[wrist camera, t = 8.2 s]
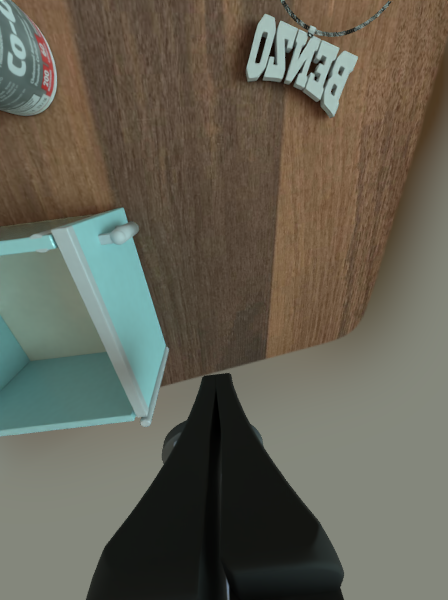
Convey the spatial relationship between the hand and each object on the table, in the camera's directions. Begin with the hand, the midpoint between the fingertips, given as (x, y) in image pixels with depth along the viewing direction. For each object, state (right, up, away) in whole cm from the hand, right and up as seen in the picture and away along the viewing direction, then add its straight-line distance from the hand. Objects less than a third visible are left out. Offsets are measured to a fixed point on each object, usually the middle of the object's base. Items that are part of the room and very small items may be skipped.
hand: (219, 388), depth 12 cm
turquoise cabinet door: (-5, +5, +7) cm, 10 cm away
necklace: (+5, +18, +1) cm, 19 cm away
